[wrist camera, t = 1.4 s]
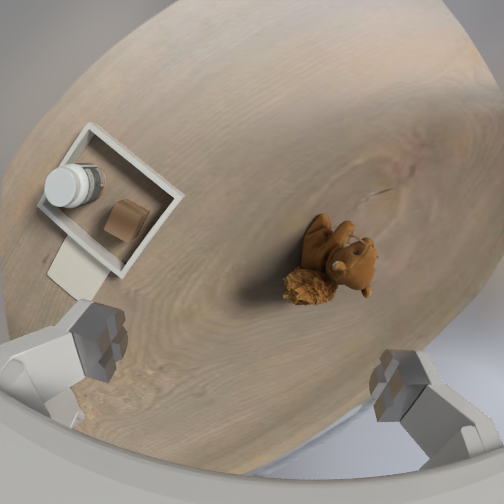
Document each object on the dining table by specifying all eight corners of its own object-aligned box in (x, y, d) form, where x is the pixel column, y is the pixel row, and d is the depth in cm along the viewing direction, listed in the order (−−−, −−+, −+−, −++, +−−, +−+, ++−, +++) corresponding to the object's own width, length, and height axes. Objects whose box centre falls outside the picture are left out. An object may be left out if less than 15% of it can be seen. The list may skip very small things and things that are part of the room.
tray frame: (127, 272, 43) (122, 279, 40) (46, 203, 38) (36, 205, 36) (185, 195, 41) (183, 197, 38) (96, 123, 37) (88, 121, 34)
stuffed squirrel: (367, 247, 47) (413, 273, 34) (306, 309, 48) (334, 353, 36) (329, 203, 44) (371, 217, 31) (263, 270, 46) (281, 309, 33)
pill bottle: (69, 194, 39) (35, 202, 29) (81, 158, 38) (48, 157, 28) (99, 207, 40) (70, 218, 30) (112, 170, 39) (85, 172, 29)
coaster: (88, 306, 44) (87, 308, 43) (48, 273, 41) (46, 274, 41) (113, 266, 43) (112, 267, 42) (70, 230, 40) (69, 231, 40)
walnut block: (137, 235, 42) (128, 243, 37) (115, 222, 41) (103, 229, 36) (149, 211, 41) (141, 216, 36) (126, 198, 40) (115, 202, 35)
